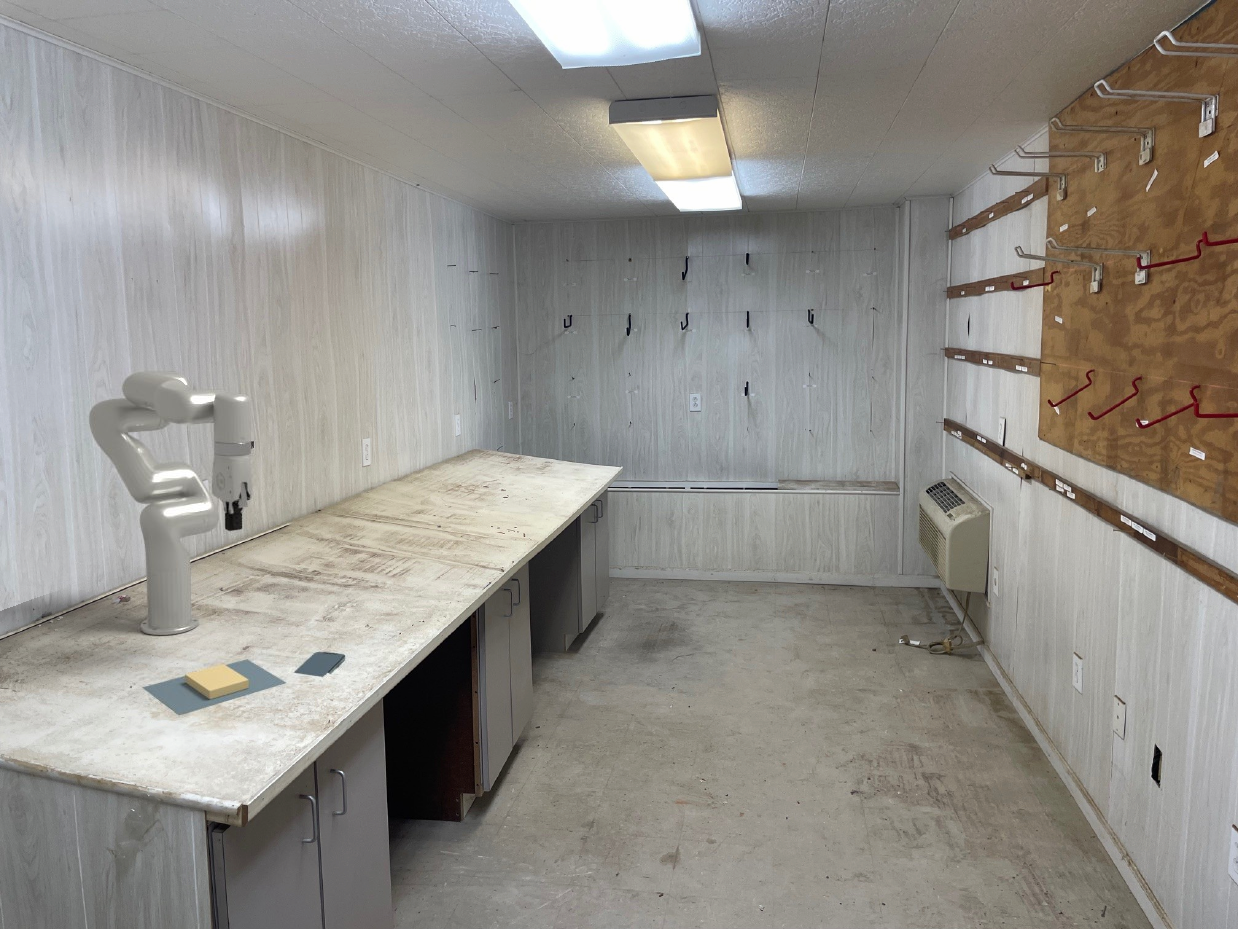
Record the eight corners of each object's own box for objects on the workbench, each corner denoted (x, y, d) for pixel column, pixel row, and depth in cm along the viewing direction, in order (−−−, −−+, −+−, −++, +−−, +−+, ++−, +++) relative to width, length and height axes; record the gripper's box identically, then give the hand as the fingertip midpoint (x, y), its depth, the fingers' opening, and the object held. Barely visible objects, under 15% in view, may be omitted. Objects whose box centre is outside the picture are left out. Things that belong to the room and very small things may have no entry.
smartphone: (284, 679, 182) (315, 650, 196) (284, 686, 182) (315, 657, 197) (318, 682, 181) (347, 653, 196) (318, 689, 181) (347, 660, 196)
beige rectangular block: (185, 674, 176) (209, 691, 170) (223, 664, 183) (248, 679, 176) (185, 683, 177) (210, 700, 170) (223, 672, 183) (248, 688, 176)
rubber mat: (142, 691, 174) (142, 687, 174) (247, 662, 191) (247, 659, 190) (179, 719, 163) (179, 715, 163) (286, 686, 180) (286, 682, 180)
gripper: (200, 445, 190) (201, 525, 193) (232, 455, 181) (233, 539, 184) (233, 443, 196) (234, 520, 199) (265, 452, 187) (266, 533, 190)
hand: (233, 529), depth 191 cm, fingers closed
